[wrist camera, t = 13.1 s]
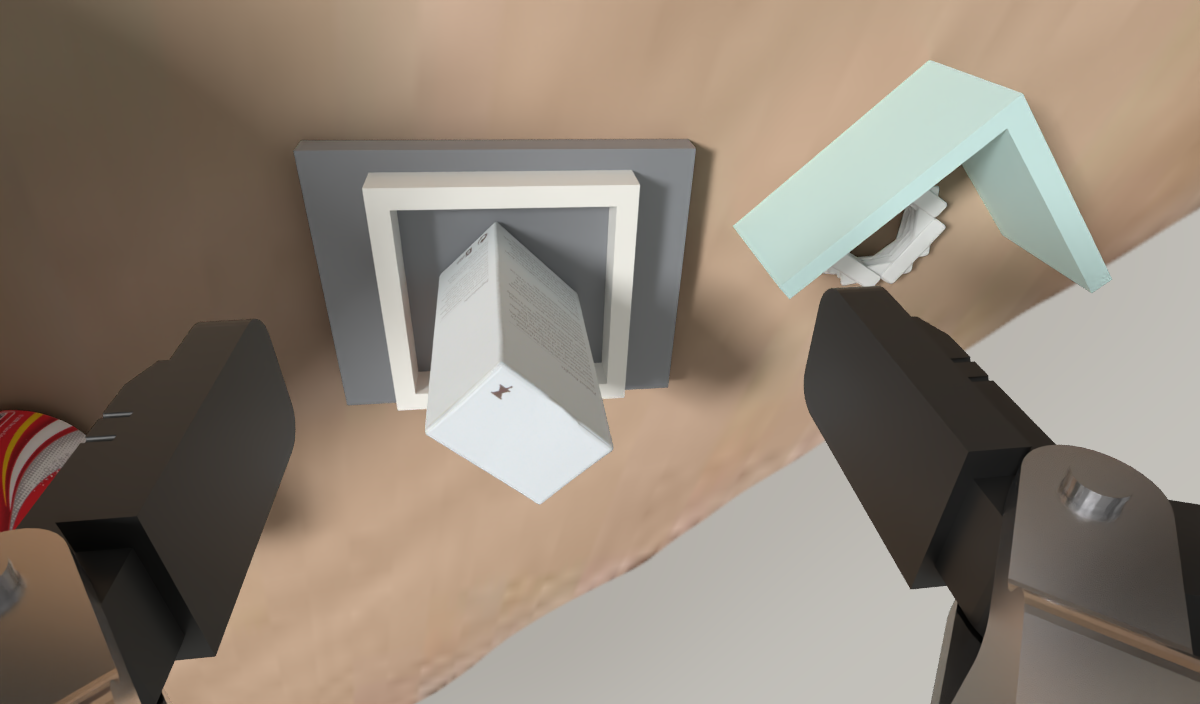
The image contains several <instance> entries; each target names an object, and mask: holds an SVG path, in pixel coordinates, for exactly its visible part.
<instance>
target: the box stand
mask: <svg viewBox="0 0 1200 704" xmlns="http://www.w3.org/2000/svg"><path fill="white" fill-rule="evenodd" d="M293 152H294V156H295V161H296V166H297V170H298V175H299V180H300V185H301V189H302V194H303V199H304V203H305V208H306V213H307V218H308V222H309V227H310V232H311V236H312V241H313V246H314V251H315V255H316V260H317V265H318V269H319V274H320V279H321V284H322V288H323V293H324V298H325V302H326V307H327V312H328V317H329V321H330V326H331V331H332V335H333V340H334V345H335V349H336V354H337V359H338V364H339V368H340V373H341V378H342V382H343V387H344V392H345V397H346V401H347V405H361V404H379V403H397V409H398V410H416V409H427V403H428V392H429V381H430V371H431V361H432V350H433V339H434V329H435V319H436V308H437V298H438V288H439V277H440V275H441V273H442V272H443V271H444V270H445V269H447V268H448V267H449V266H450V265H451V264H452V263H453V262H454V261H455V260H456V259H457V258H458V257H459V256H460V255H461V254H463V253H464V252H465V251H466V250H467V249H468V248H469V247H470V246H471V245H472V244H473V243H474V242H475V241H476V240H477V239H478V238H479V237H480V236H481V235H482V234H483V233H484V232H485V231H486V230H487V229H488V228H490V227H491V226H492V225H493V224H494V223H495V222H498V223H499V224H500V225H501V226H502V227H503V228H504V229H506V230H507V231H508V232H509V233H510V234H511V235H512V236H513V237H514V238H516V239H517V240H518V241H519V242H520V243H521V244H522V245H523V246H525V247H526V248H527V249H528V250H529V251H530V252H531V253H532V254H534V255H535V256H536V257H537V258H538V259H539V260H540V261H542V262H543V263H544V264H545V265H546V266H547V267H548V268H549V269H550V270H552V271H553V272H554V273H555V274H556V275H557V276H558V277H559V278H560V279H562V280H563V281H564V282H565V283H566V284H567V285H568V286H569V287H570V288H572V289H573V290H574V291H575V292H576V293H577V294H578V298H579V302H580V306H581V310H582V315H583V319H584V323H585V328H586V332H587V336H588V340H589V345H590V349H591V353H592V358H593V361H594V366H595V370H596V375H597V379H598V384H599V388H600V392H601V396H602V399H608V398H624V395H625V390H631V389H649V388H667V387H668V383H669V374H670V366H671V357H672V349H673V340H674V332H675V323H676V315H677V306H678V298H679V289H680V281H681V272H682V264H683V255H684V247H685V238H686V230H687V221H688V213H689V204H690V196H691V187H692V179H693V170H694V162H695V153H696V148H695V147H694V146H693V144H692V143H691V142H690V141H689V140H688V139H556V140H301V141H300V142H299V144H298V145H297V146H296V148H295V149H294V150H293Z"/></svg>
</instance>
